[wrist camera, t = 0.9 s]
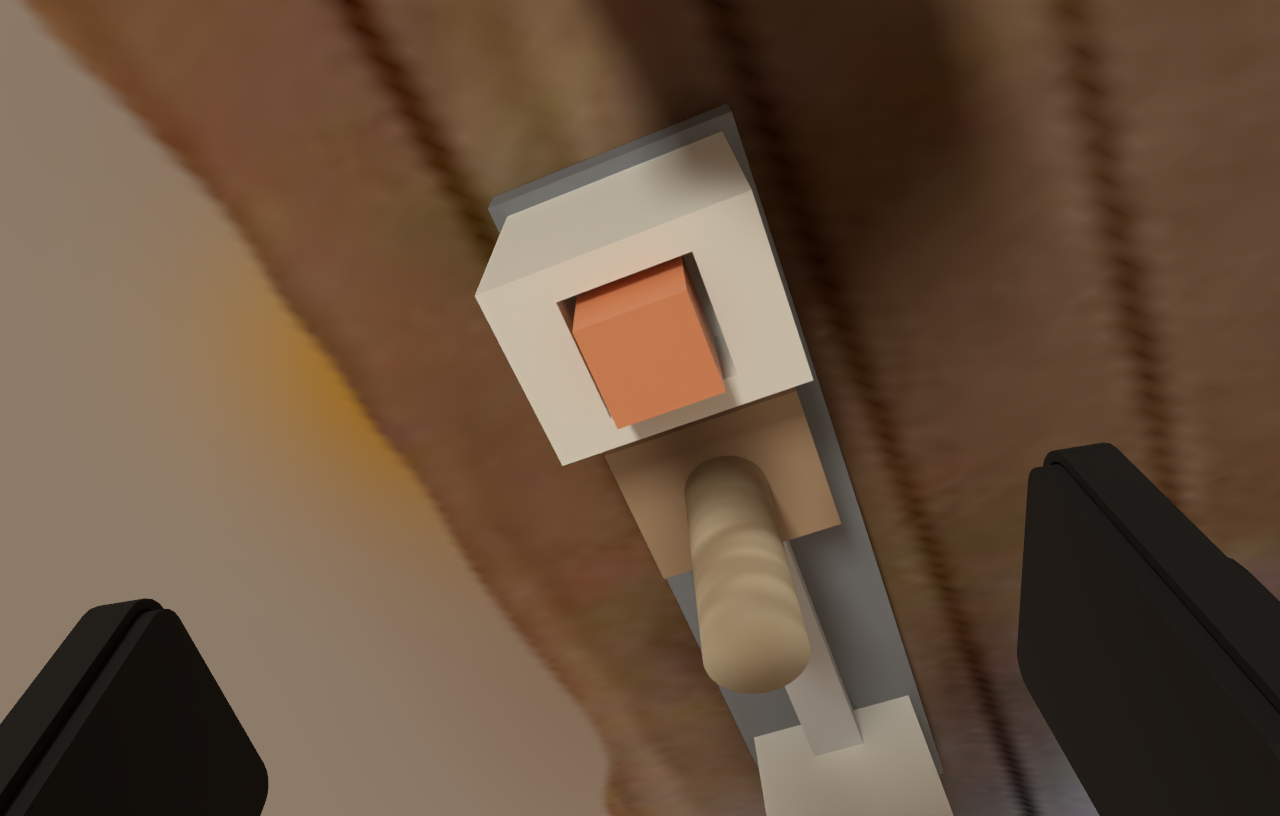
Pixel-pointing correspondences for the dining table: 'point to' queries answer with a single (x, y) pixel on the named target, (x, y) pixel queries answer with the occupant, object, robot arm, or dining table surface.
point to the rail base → (752, 369)
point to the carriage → (734, 529)
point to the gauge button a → (648, 343)
